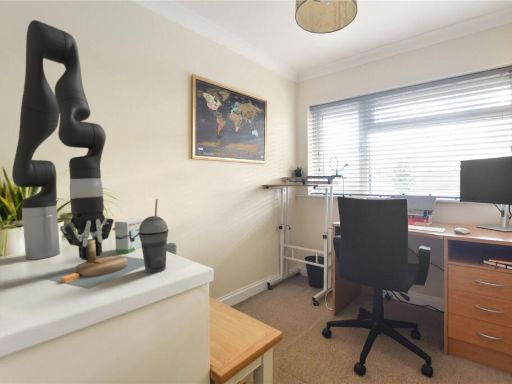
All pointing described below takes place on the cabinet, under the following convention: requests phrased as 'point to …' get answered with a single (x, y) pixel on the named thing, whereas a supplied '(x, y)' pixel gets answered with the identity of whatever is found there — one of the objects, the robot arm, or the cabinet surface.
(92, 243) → the dial
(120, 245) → the ink box
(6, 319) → the cabinet surface
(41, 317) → the cabinet surface
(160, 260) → the beverage cup
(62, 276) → the board
